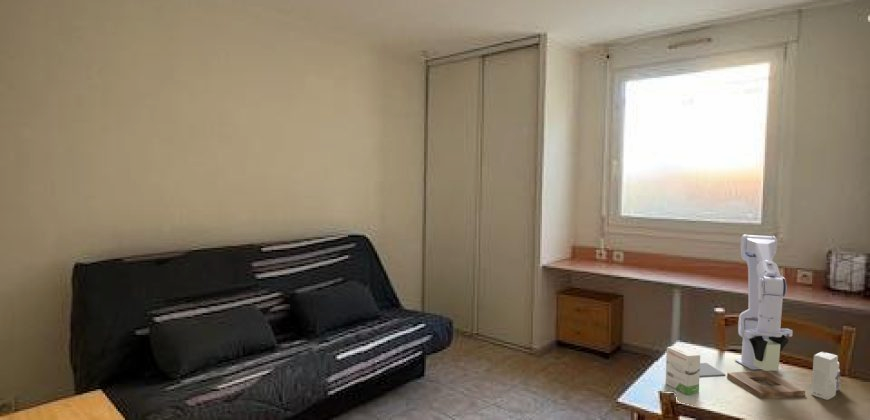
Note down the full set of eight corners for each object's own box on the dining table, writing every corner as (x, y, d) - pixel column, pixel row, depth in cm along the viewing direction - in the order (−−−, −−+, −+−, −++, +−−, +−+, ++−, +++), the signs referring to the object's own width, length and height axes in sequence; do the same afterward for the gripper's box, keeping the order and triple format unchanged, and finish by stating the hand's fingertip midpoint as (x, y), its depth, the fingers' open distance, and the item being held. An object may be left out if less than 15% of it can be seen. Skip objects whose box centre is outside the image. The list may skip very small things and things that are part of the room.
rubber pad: (706, 364, 167) (706, 362, 167) (725, 375, 158) (725, 374, 158) (681, 365, 166) (681, 364, 166) (699, 376, 157) (699, 375, 157)
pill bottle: (833, 392, 147) (836, 365, 146) (815, 386, 151) (817, 359, 150) (841, 389, 149) (844, 362, 148) (823, 382, 153) (825, 356, 152)
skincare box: (828, 400, 142) (831, 360, 141) (809, 394, 146) (813, 355, 144) (836, 395, 145) (840, 355, 144) (818, 389, 149) (821, 350, 148)
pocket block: (766, 375, 158) (767, 370, 158) (804, 395, 145) (805, 390, 144) (727, 377, 157) (727, 372, 156) (761, 398, 143) (761, 393, 143)
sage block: (766, 364, 153) (768, 339, 152) (778, 370, 148) (780, 344, 147) (753, 364, 152) (755, 339, 151) (764, 370, 148) (766, 345, 147)
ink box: (699, 393, 146) (702, 354, 145) (686, 395, 144) (689, 356, 143) (676, 380, 154) (678, 344, 153) (664, 383, 152) (666, 346, 151)
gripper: (758, 321, 144) (754, 366, 145) (802, 319, 145) (798, 363, 147) (740, 313, 151) (737, 356, 152) (782, 312, 152) (779, 354, 154)
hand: (766, 359), depth 150 cm, fingers closed on sage block, 4 cm apart
